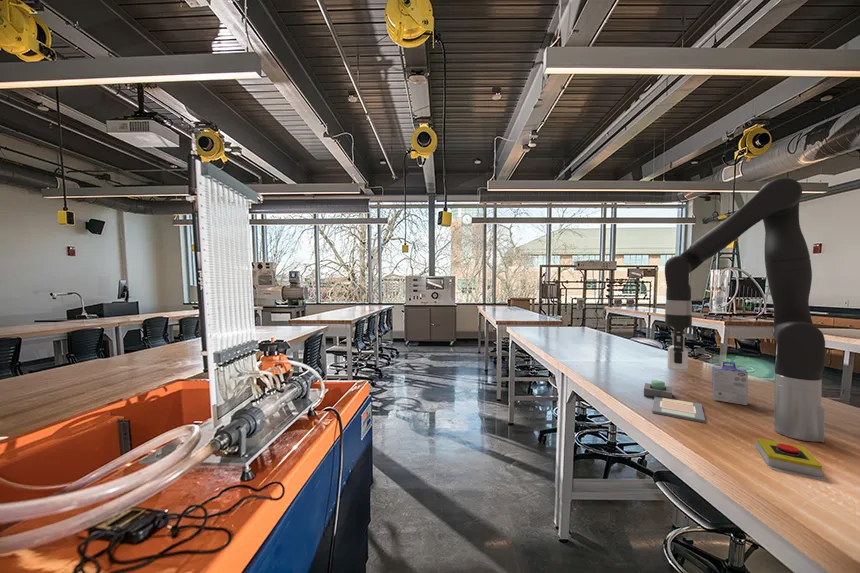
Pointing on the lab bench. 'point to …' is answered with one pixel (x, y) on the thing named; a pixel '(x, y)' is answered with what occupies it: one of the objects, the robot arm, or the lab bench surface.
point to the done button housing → (657, 392)
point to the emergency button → (789, 459)
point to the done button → (657, 385)
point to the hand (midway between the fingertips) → (678, 361)
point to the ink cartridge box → (730, 384)
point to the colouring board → (678, 409)
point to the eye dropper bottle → (676, 366)
